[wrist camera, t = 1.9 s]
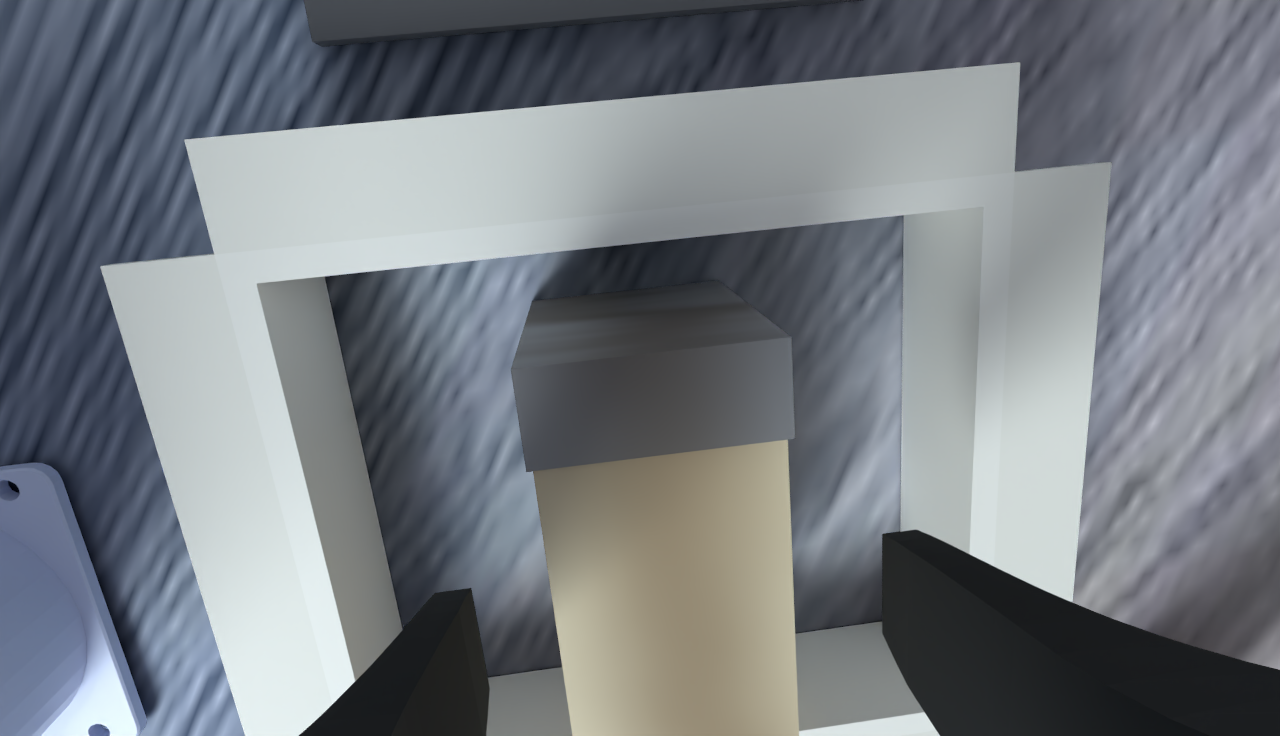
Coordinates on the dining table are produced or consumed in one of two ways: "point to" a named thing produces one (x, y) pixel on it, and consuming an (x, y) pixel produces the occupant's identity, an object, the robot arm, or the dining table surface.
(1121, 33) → the dining table surface
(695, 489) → the birch block
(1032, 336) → the white flat frame
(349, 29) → the rubber mat
